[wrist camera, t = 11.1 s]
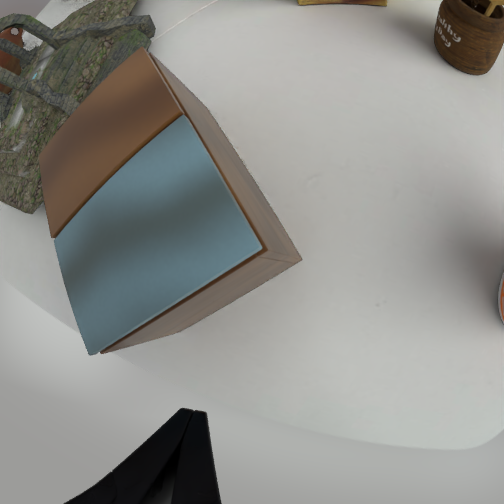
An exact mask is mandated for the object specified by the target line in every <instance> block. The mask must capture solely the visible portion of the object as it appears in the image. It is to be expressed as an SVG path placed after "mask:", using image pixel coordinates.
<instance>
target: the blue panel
mask: <svg viewBox="0 0 504 504" xmlns="http://www.w3.org/2000/svg"><path fill="white" fill-rule="evenodd" d="M54 243H55V248H56V252H57V257H58V261H59V265H60V269H61V273H62V276H63V280H64V284H65V287H66V291H67V294H68V297H69V301H70V304H71V307H72V310H73V313H74V316H75V319H76V322H77V325H78V327H79V330H80V333H81V335H82V338H83V341H84V343H85V346H86V349H87V351H88V354H89V355H94V354H97V353H98V352H100V351H101V350H103V349H105V348H106V347H108V346H109V345H111V344H113V343H114V342H116V341H117V340H119V339H121V338H122V337H124V336H125V335H127V334H129V333H130V332H132V331H133V330H135V329H136V328H138V327H140V326H141V325H143V324H144V323H146V322H148V321H149V320H151V319H152V318H154V317H155V316H157V315H159V314H160V313H162V312H163V311H165V310H167V309H168V308H170V307H171V306H173V305H174V304H176V303H178V302H179V301H181V300H182V299H184V298H186V297H187V296H189V295H190V294H192V293H193V292H195V291H197V290H198V289H200V288H201V287H203V286H205V285H206V284H208V283H209V282H211V281H212V280H214V279H216V278H217V277H219V276H220V275H222V274H223V273H225V272H227V271H228V270H230V269H231V268H233V267H235V266H236V265H238V264H239V263H241V262H242V261H244V260H246V259H247V258H249V257H250V256H252V255H253V254H255V253H257V252H258V251H260V250H261V249H262V246H261V244H260V242H259V240H258V238H257V237H256V235H255V233H254V231H253V230H252V228H251V226H250V224H249V223H248V221H247V219H246V217H245V216H244V214H243V212H242V210H241V209H240V207H239V205H238V203H237V202H236V200H235V198H234V196H233V195H232V193H231V191H230V190H229V188H228V186H227V184H226V183H225V181H224V179H223V177H222V176H221V174H220V172H219V170H218V169H217V167H216V165H215V164H214V162H213V160H212V158H211V157H210V155H209V153H208V152H207V150H206V148H205V146H204V145H203V143H202V141H201V140H200V138H199V136H198V134H197V133H196V131H195V129H194V128H193V126H192V124H191V122H190V121H189V119H188V118H187V117H186V116H185V115H182V116H180V117H179V118H178V119H177V120H175V121H174V122H173V123H172V124H170V125H169V126H168V127H167V128H165V129H164V130H163V131H162V132H161V133H159V134H158V135H157V136H156V137H155V138H154V139H152V140H151V141H150V142H149V143H148V144H147V145H145V146H144V147H143V148H142V149H141V150H140V151H139V152H138V153H136V154H135V155H134V156H133V157H132V158H131V159H130V160H129V161H128V162H127V163H126V164H125V165H124V166H122V167H121V168H120V169H119V170H118V171H117V172H116V173H115V174H114V175H113V176H112V177H111V178H110V179H109V180H108V181H107V182H106V183H105V184H104V185H103V186H102V187H101V188H100V189H99V190H98V191H97V192H96V193H95V194H94V195H93V196H92V198H91V199H90V200H89V201H88V202H87V203H86V204H85V205H84V206H83V207H82V208H81V209H80V210H79V212H78V213H77V214H76V215H75V216H74V217H73V218H72V219H71V221H70V222H69V223H68V224H67V225H66V226H65V228H64V229H63V230H62V231H61V232H60V234H59V235H58V236H57V237H56V238H55V240H54Z"/></svg>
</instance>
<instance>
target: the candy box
mask: <svg viewBox="0 0 504 504" xmlns="http://www.w3.org/2000/svg"><path fill="white" fill-rule="evenodd" d="M297 2H298V4H299V5H309V4H328V3H330V4H332V3H347V4H369V5H380V6H387V0H297Z"/></svg>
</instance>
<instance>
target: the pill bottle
mask: <svg viewBox="0 0 504 504" xmlns="http://www.w3.org/2000/svg"><path fill="white" fill-rule="evenodd" d="M498 307H499V313H500V316H501V319H502V322H503V324H504V273H503V275H502V278H501V282H500V286H499V292H498Z"/></svg>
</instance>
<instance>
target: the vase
mask: <svg viewBox="0 0 504 504" xmlns="http://www.w3.org/2000/svg"><path fill="white" fill-rule="evenodd" d="M12 28H16V27H10V28H8V29H5V30H4V31H3V32H2V33H0V38H5V39H7V40H9V41H10V42H12V43H14V44H16V45H18V46H20V47H21V48H23V40H22V37H21V36H22V32H23V29H22V28H17V29H18V31H19V33H18V34H17V35H14V34H11V29H12ZM19 62H20V59H18V58H16V57H14V56H12V55H10V54H8V53H6V52H4V51H1V50H0V67H2V68H4V69H6V70H8V71H10V72H12V73H14V74H16V75H18V76H20V74H21V67H20V64H19ZM12 90H13V89H12V88H10V87H8V86H6V85H3V84H1V83H0V91H1V92H3V93H5V94H8V93H9V92H10V91H12Z"/></svg>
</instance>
